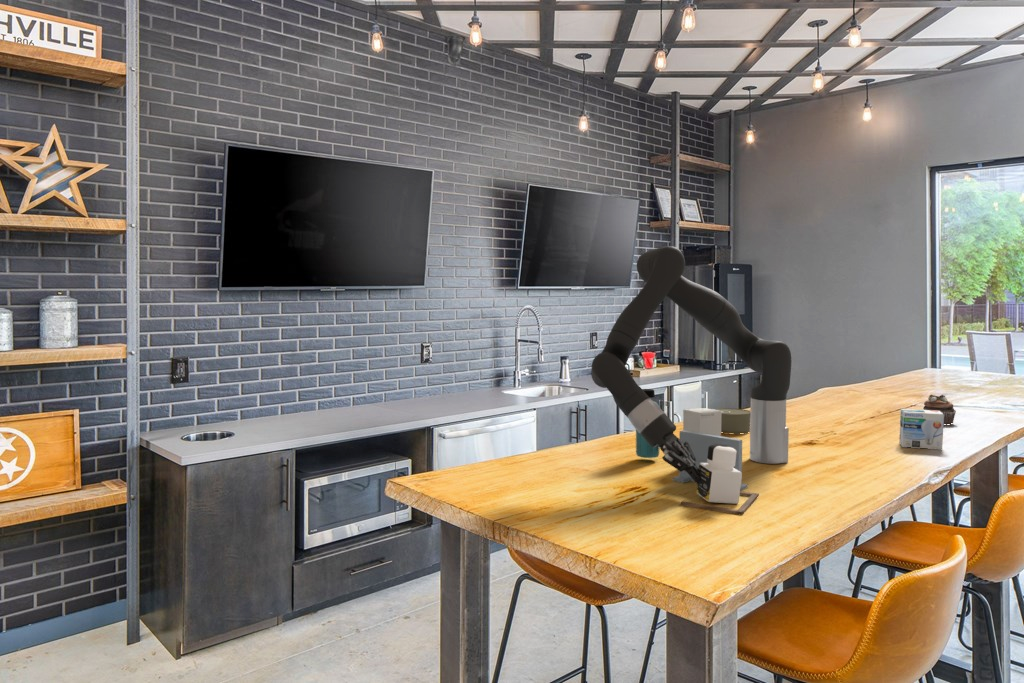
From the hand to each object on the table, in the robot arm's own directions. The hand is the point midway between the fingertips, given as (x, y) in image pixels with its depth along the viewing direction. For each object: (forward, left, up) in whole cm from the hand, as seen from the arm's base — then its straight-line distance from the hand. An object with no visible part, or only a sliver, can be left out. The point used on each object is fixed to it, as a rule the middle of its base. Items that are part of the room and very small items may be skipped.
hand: (702, 481), depth 154 cm
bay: (-3, +2, -4) cm, 5 cm away
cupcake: (-104, -89, -4) cm, 137 cm away
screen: (-4, -11, -4) cm, 13 cm away
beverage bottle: (+7, -35, -4) cm, 36 cm away
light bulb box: (-77, -52, -4) cm, 94 cm away
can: (-28, -76, -4) cm, 82 cm away
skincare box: (-6, -27, -4) cm, 28 cm away
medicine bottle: (-3, +2, -4) cm, 5 cm away
